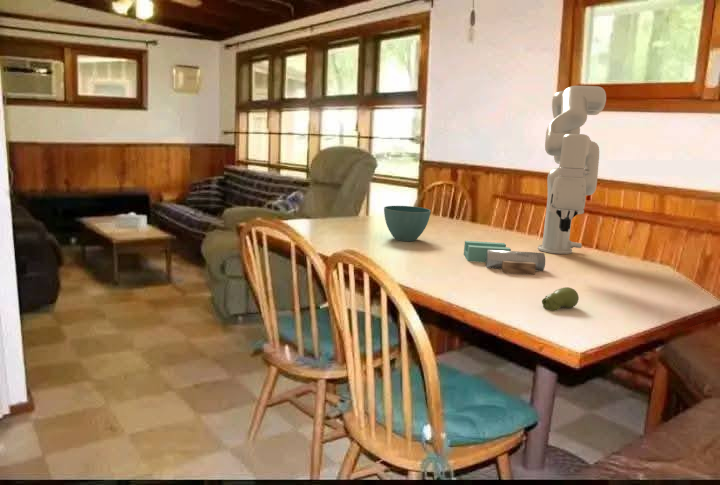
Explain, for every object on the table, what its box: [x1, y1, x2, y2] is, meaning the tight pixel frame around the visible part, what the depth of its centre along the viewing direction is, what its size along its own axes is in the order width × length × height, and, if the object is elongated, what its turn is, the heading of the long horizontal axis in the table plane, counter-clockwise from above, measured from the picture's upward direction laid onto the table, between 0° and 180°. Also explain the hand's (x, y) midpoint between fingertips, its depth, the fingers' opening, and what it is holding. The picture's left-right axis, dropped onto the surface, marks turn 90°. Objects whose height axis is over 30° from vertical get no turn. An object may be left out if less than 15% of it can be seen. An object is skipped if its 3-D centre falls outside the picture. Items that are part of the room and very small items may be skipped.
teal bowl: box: [383, 205, 431, 242], centre depth 232 cm, size 18×18×12 cm
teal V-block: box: [463, 240, 512, 263], centre depth 204 cm, size 14×11×5 cm
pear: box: [541, 286, 579, 312], centre depth 151 cm, size 6×5×10 cm
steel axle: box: [484, 250, 546, 272], centre depth 192 cm, size 18×6×6 cm, turn 88°
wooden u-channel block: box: [500, 260, 536, 276], centre depth 192 cm, size 10×13×4 cm
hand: (564, 231), depth 189 cm, fingers closed
